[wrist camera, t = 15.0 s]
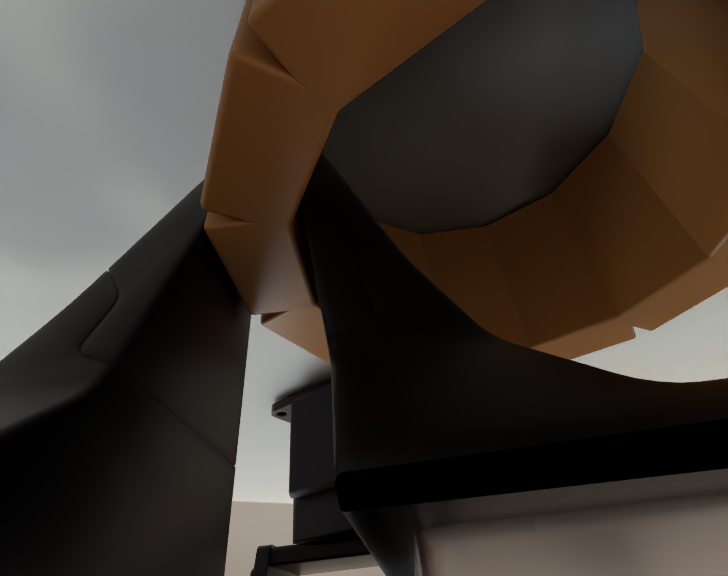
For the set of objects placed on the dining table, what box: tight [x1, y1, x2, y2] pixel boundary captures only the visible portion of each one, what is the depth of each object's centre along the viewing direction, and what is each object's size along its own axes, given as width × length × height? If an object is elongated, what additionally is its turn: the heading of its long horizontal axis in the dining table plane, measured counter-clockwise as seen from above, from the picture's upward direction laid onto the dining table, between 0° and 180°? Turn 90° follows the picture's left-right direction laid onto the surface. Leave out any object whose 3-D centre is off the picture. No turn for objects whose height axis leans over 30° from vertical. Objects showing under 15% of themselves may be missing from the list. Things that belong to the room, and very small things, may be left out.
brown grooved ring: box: [200, 0, 728, 364], centre depth 8 cm, size 10×10×4 cm
